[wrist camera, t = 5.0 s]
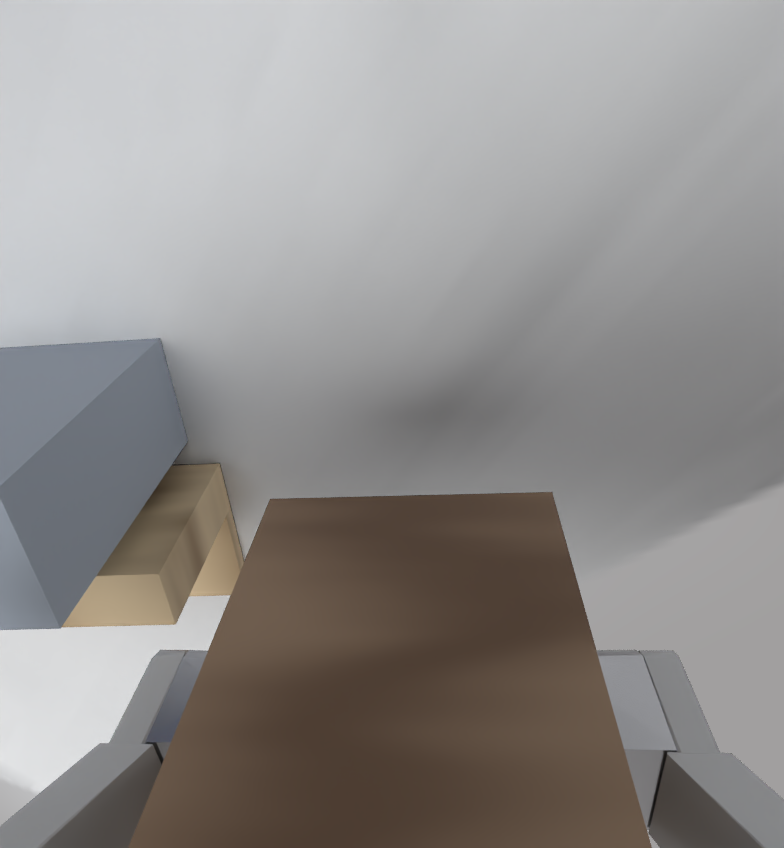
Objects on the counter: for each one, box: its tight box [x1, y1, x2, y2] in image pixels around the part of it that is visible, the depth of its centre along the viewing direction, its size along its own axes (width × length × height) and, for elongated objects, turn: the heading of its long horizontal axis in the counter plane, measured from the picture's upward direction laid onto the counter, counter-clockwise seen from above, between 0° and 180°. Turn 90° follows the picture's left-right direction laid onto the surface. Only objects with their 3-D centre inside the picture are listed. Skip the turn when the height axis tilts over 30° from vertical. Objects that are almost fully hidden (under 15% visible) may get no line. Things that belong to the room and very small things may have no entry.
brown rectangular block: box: [128, 492, 652, 848], centre depth 9 cm, size 5×4×6 cm
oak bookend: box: [62, 463, 244, 627], centre depth 22 cm, size 10×6×6 cm, turn 94°
